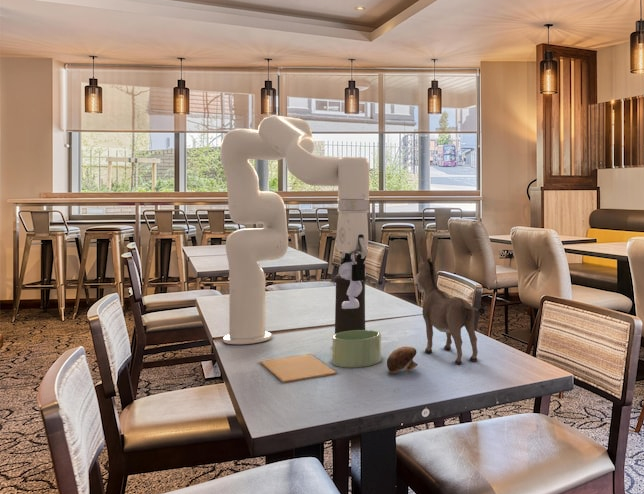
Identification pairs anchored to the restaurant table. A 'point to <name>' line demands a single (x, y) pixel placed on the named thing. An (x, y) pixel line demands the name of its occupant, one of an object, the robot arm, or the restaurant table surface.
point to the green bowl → (356, 348)
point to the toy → (444, 307)
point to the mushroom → (401, 359)
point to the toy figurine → (354, 286)
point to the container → (348, 317)
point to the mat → (297, 368)
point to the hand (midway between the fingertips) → (352, 278)
